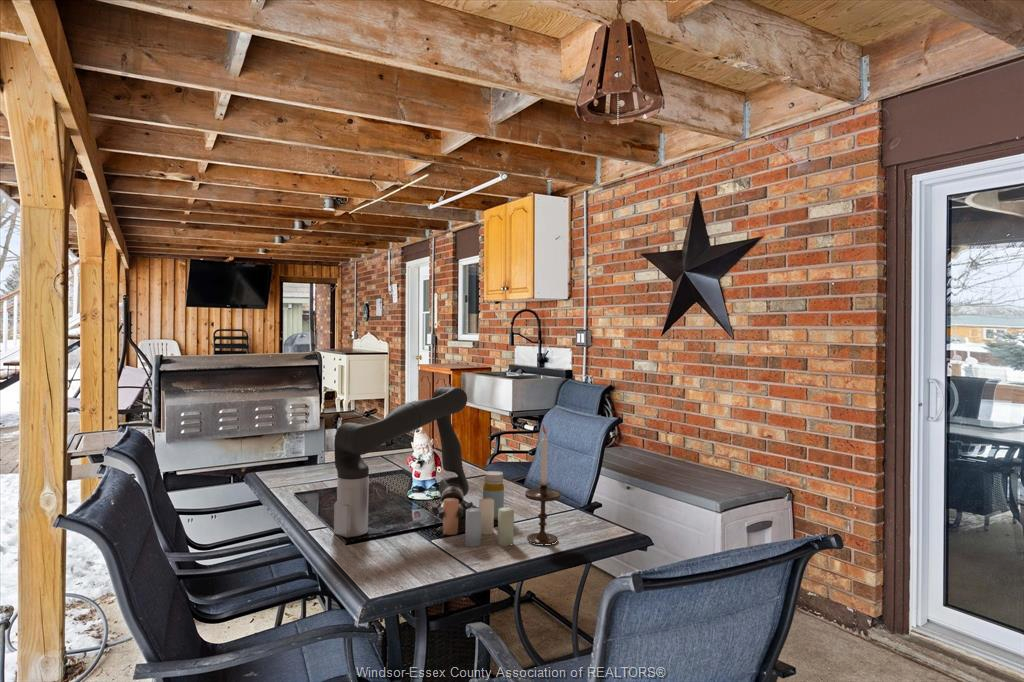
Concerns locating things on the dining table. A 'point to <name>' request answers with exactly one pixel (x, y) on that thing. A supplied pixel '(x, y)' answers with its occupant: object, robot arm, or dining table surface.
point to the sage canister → (505, 526)
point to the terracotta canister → (450, 516)
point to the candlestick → (543, 498)
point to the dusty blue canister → (473, 527)
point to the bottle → (494, 489)
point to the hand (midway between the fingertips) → (450, 515)
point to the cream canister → (487, 515)
